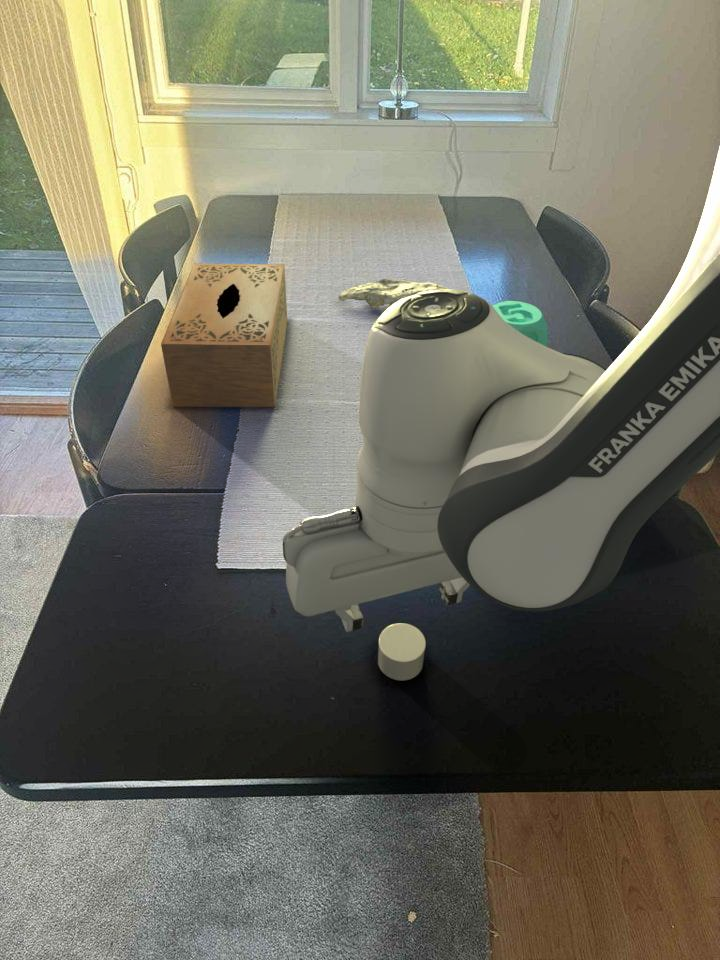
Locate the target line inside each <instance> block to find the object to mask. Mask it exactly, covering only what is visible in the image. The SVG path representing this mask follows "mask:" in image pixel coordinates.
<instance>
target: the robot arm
mask: <svg viewBox="0 0 720 960" xmlns="http://www.w3.org/2000/svg"><path fill="white" fill-rule="evenodd" d="M362 360H363V361H362V368H361V376H360V386H359V400H358V424H359V430H360V432H361V436H362V442H363V443H362V445H361V446H360V450H359V452H358V456H357V463H356V489H355V507H352V508H348V509H343V510H339V511H335V512H332V513H329V514H327V515H326V514H325V515H320V516H318V515H317V516H309V517H307V518H304V519H302V520H301V521H300V523H299V525H297V526H295V527H293V528H292V529H290V530H289V531H288V532H286V533H285V534H284V536H283V538H282V557H283V559H284V561H285V562H286V567H285V572H286V573H285V585H286V589H287V593H288V596H289V599H290V601H291V604H292V607H293V609H294V611H295V612H297V613H299V615H302V616H304V617H307V618H308V617H309V618H310V617H313V616H317V615H322V614H324V613H328V612H332V611H334V612H335V614H336V615H337V616H338V617H339V618H340V619H341V623H342V625H343V627H344V630H345V632H346V633H349V632H354V631H356V630H359V629H363V628H364V625H363V623H364V615H363V613H362V611H361V610H360V607H359V605H360V604H363V603H367V602H371V601H375V600H379V599H383V598H387V597H390V596H391V597H392V596H395V595H398V594H402V593H406V592H411V591H414V590H419V589H422V588H426V587H430V586H435V585H438V584H439V589H438V594H439V597H440V599H441V600H443V604H444V606H445V607H448V606H451V605H455V604H459V603H461V602H462V600H463V596H464V595H463V594H464V592H465V591H466V590H467V589H468V588H469V587H471V588H473V589H474V590H475V591H477V593H478V594H479V595H481V596H483V597H484V598H486V599H488V600H489V601H491V602H493V603H495V604H498V605H500V606H503V607H505V608H508V609H511V610H516V611H521V612H547V611H555V610H560V609H564V608H567V607H571V606H573V605H576V604H579V603H581V602H584V601H586V600H588V599H591V598H592V597H594V596H596V595H597V594H599V593H600V592H601V593H602V591H604V590H605V589H606V588H607V587H608V586H609V585H610V584H611V583H612V582H613V581H614V580H615V578H616V576H617V575H618V573H619V571H620V569H621V568H622V565H623V563H624V560H625V558H626V555H627V553H628V550H629V548H630V547H631V544H632V543H633V540H634V539H635V537H636V536H637V534H638V532H639V531H640V529H641V528H642V527H643V526H644V525H645V523H646V522H647V521H648V520H649V519H650V518H651V516H653V515H654V514H655V512H656V511H658V510H659V509H660V508H661V507H662V506H663V505H664V504H665V503H666V502H667V501H669V499H671V497H673V495H675V494H676V493H677V492H678V491H679V490H681V489H682V487H684V485H686V484H687V483H688V482H689V481H690V480H691V479H692V478H693V477H695V475H697V474H698V473H699V472H700V471H701V470H702V469H703V468H704V467H706V465H708V464H709V463H710V462H711V461H712V460H713V459H715V457H717V455H719V454H720V146H719V147H718V152H717V156H716V160H715V164H714V169H713V174H712V177H711V181H710V184H709V188H708V193H707V196H706V199H705V204H704V207H703V211H702V213H701V217H700V220H699V222H698V226H697V229H696V232H695V235H694V237H693V240H692V243H691V246H690V248H689V251H688V253H687V256H686V258H685V261H684V262H683V265H682V266H681V269H680V271H679V273H678V275H677V277H676V278H675V281H674V283H673V284H672V286H671V288H670V289H669V292H668V293H667V295H666V296H665V298H664V300H663V301H662V303H661V304H660V306H659V307H658V309H657V310H656V311H655V313H654V314H653V316H652V317H651V319H650V320H649V321H648V322H647V324H646V325H645V326H644V327H643V328H642V329H641V330H640V332H638V334H637V335H636V336H635V338H633V340H632V341H631V342H630V343H629V344H628V345H627V346H626V348H625V349H624V350H623V351H622V352H621V353H620V354H619V355H618V357H617V358H616V359H615V360H614V361H613V362H612V363H611V364H610V365H609V367H607V369H606V368H605V367H604V366H603V365H600V364H599V363H597V362H596V361H593V360H591V359H589V358H587V357H584V356H581V355H577V354H572V353H568V352H567V353H566V352H559V351H557V350H556V349H552V348H550V347H548V346H547V347H546V346H544V345H542V344H539V343H538V342H536V341H534V340H532V339H530V338H528V337H527V336H525V335H523V334H522V333H520V332H519V331H517V330H516V329H514V328H513V327H511V326H510V325H509V324H508V323H507V322H505V321H504V320H503V319H502V317H501V316H500V315H499V314H498V313H497V311H496V310H495V309H494V308H493V305H492V304H491V303H490V302H489V301H488V300H486V299H485V298H484V297H481V296H480V295H477V294H474V293H471V292H468V291H467V292H466V291H464V290H458V289H447V290H432V291H425V292H420V293H417V294H415V295H412V296H409V297H407V298H403V299H401V300H399V301H397V302H396V303H394V304H393V305H392V306H390V307H389V306H388V308H387V309H386V310H384V311H383V312H382V313H381V314H380V315H379V316H378V318H377V319H376V320H375V322H374V323H373V325H372V327H371V329H370V331H369V333H368V337H367V340H366V345H365V349H364V356H363V359H362Z"/></svg>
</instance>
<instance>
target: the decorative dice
mask: <svg viewBox="0 0 720 960" xmlns="http://www.w3.org/2000/svg"><path fill="white" fill-rule="evenodd" d="M492 306H493V308H494V309H495V310H496V311H497V313H498V314H499V315H500V316H501V317H502V319H503V320H504V321H505V322H507V323H508V324H509V325H510V326H511V327H513V328H514V329H516V330H517V331H519V332H520V333H522V334H523V335H525V336H527V337H528V338H530V339H532V340H534V341H536V342H538V343H539V344H542V345H544V346H546V347H548V341H549V329H548V323H547V321H546V318H545V316H544V314H543V312H542V311H541V310H540V309H539V308H538V307H537V306H535V305H533V304H531V303H528V302H524V301H517V300H504V301H500V302H497V303H495V304H494V305H492Z"/></svg>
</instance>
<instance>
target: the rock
mask: <svg viewBox="0 0 720 960" xmlns="http://www.w3.org/2000/svg"><path fill="white" fill-rule="evenodd" d="M432 290H448V289H447V288H446V287H444V286H443V285H441V284H437V283H434V282H433V283H432V282H413V281H407V280H404V279H403V280H402V279H392V278H387V277H386V278H383V279H380V280H376V281H370V282H368V283H363V284H360V285H356V286H353V287H351V288H348V289H345V290H344V291H342V292H341V293H339V295H338V301H339V302H344V301H347V300H354V301H365V302H366V303H367V304H368V306H369V308H373V307H375V308H378V307H384V305H388V308H389V307H390V306H392V305H393V304H394V303H396V302H397V301H399V300H401V299H403V298H407V297H409V296H412V295H415V294H417V293H420V292H425V291H432Z"/></svg>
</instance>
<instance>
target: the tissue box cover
mask: <svg viewBox="0 0 720 960" xmlns="http://www.w3.org/2000/svg"><path fill="white" fill-rule="evenodd" d="M286 287H287V286H286V268H285V264H284V263H225V262H224V263H222V262H221V263H220V262H219V263H218V262H217V263H216V262H215V263H214V262H211V263H210V262H194V263H193V265H192V267H191V269H190V272H189V274H188V277H187V280H186V282H185V284H184V287H183V289H182V292H181V294H180V297H179V299H178V301H177V303H176V306H175V308H174V311H173V314H172V316H171V318H170V321H169V324H168V326H167V328H166V331H165V333H164V336H163V338H162V341H161V343H160V347H161V352H162V357H163V362H164V367H165V373H166V378H167V382H168V389H169V395H170V399H171V404H172V407H175V408H176V407H177V408H180V407H182V408H185V407H186V408H187V407H188V408H192V407H193V408H276V405H277V398H278V397H277V396H278V391H279V390H278V389H279V382H280V377H281V369H282V362H283V355H284V348H285V341H286V336H287V335H286V334H287V328H288V303H287V288H286Z"/></svg>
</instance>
